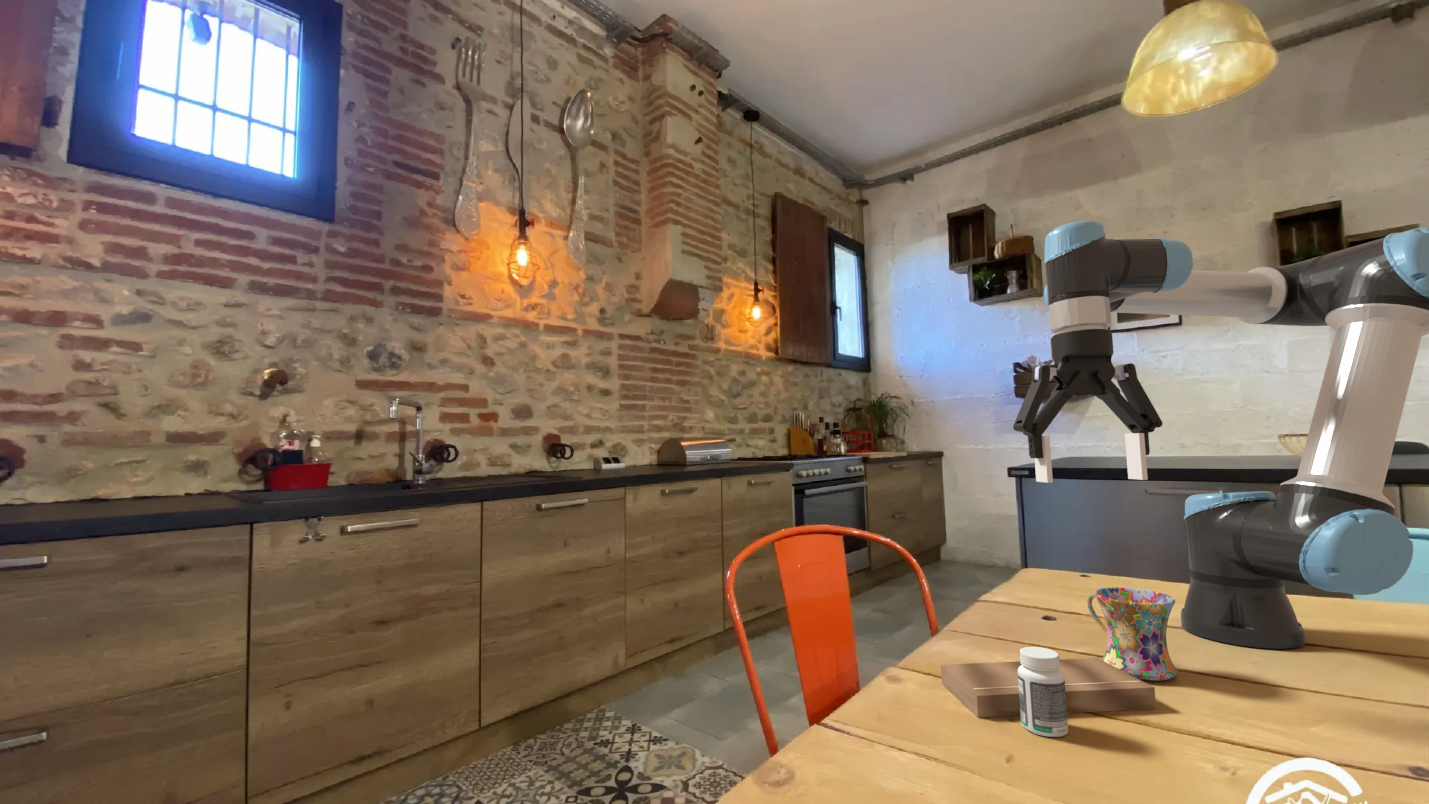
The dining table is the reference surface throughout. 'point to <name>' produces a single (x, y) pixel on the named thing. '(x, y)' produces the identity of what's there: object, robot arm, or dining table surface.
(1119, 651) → the mug
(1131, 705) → the board
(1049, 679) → the pill bottle
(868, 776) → the dining table surface
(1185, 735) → the dining table surface
